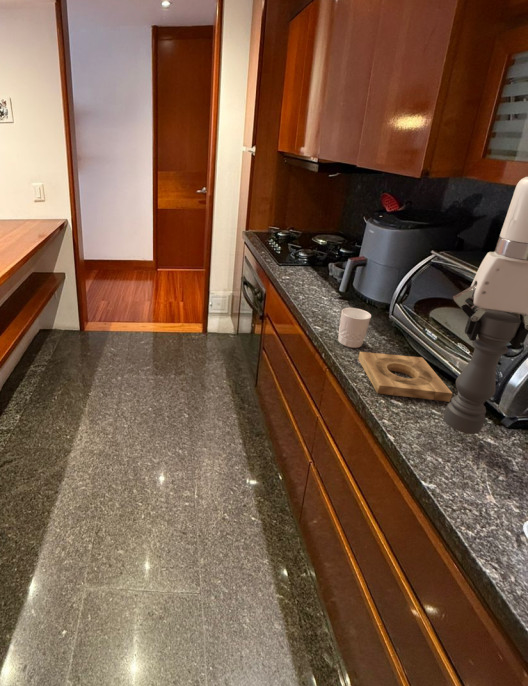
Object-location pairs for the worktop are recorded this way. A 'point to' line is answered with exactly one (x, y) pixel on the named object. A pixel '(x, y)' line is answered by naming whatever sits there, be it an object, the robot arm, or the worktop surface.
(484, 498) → the worktop surface
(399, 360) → the base pad
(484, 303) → the robot arm
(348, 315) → the white cup
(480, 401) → the candle holder
